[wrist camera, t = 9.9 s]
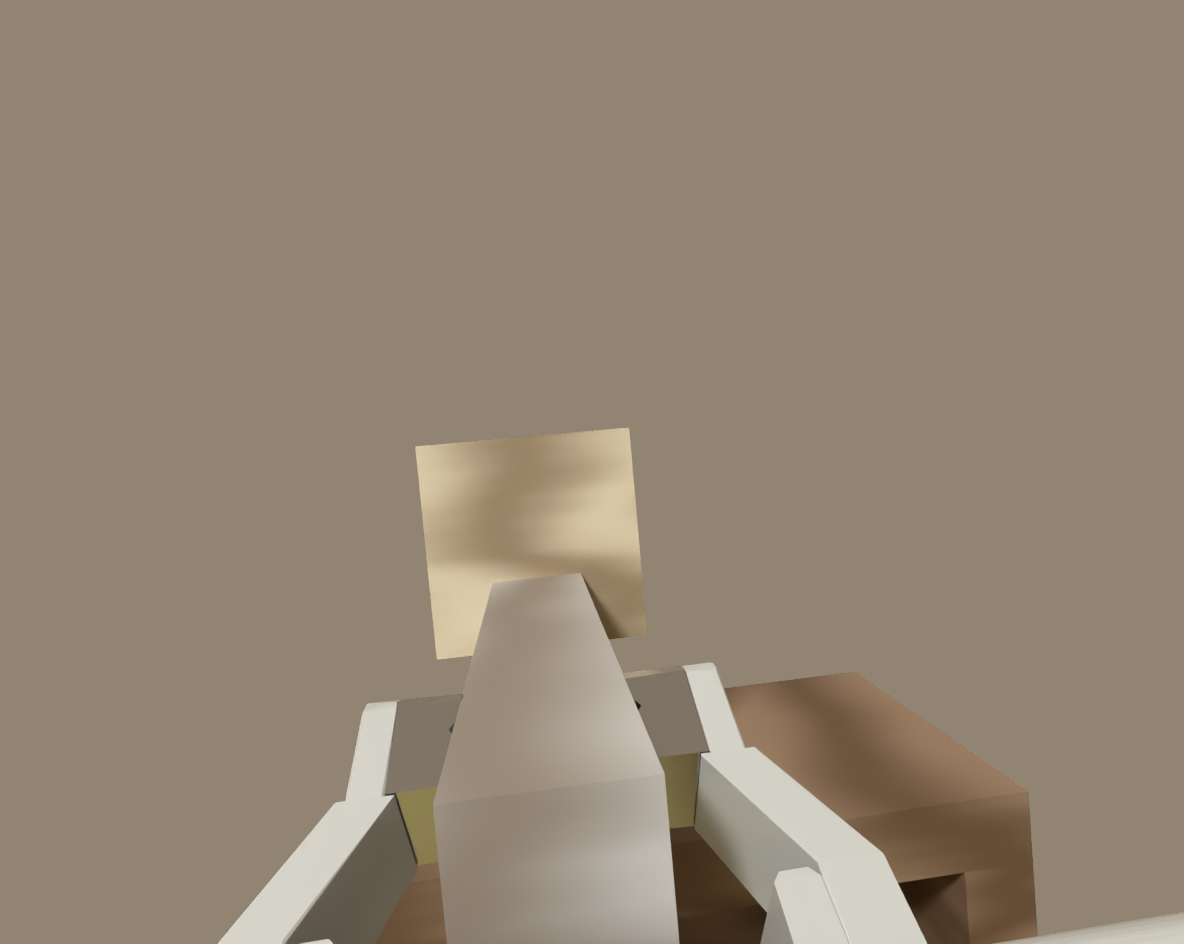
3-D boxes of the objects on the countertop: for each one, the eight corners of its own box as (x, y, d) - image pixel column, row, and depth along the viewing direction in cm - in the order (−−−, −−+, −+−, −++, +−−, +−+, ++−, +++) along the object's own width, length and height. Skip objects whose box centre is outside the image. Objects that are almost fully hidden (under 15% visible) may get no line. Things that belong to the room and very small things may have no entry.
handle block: (619, 591, 26) (605, 432, 25) (832, 925, 8) (791, 393, 7) (458, 609, 25) (442, 447, 25) (282, 1013, 7) (217, 443, 7)
